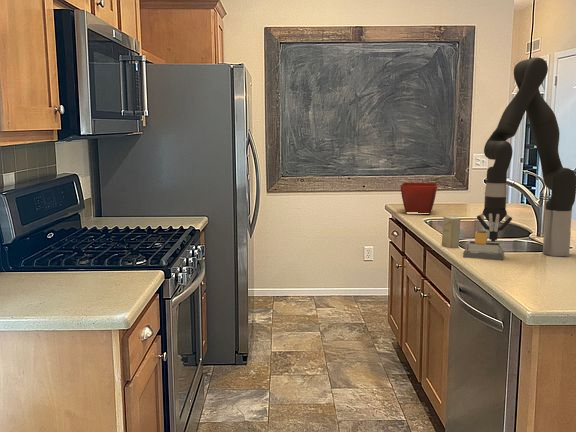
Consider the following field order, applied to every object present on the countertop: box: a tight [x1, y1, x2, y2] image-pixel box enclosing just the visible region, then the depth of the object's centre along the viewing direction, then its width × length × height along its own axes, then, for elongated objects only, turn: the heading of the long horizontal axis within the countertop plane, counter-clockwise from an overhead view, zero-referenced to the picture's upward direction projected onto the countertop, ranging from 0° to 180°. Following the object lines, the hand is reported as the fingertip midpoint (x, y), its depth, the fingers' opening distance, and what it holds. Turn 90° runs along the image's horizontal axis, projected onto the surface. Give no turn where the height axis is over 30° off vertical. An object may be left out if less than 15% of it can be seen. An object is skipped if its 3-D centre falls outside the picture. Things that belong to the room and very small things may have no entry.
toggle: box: [474, 229, 489, 245], centre depth 227 cm, size 4×4×7 cm
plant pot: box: [400, 182, 438, 214], centre depth 341 cm, size 19×19×17 cm
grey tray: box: [462, 240, 505, 261], centre depth 227 cm, size 14×9×5 cm, turn 67°
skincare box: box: [441, 215, 461, 249], centre depth 246 cm, size 6×4×12 cm
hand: (493, 241), depth 225 cm, fingers closed
